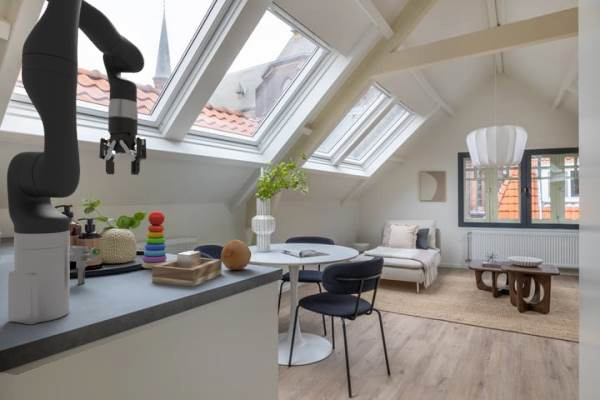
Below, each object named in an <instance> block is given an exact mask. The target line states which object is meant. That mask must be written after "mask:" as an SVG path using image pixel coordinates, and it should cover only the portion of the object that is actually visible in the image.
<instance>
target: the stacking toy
mask: <svg viewBox="0 0 600 400" xmlns="http://www.w3.org/2000/svg"><path fill="white" fill-rule="evenodd" d="M165 218H166V217H165V215H164V213H163V212H162V211H159V210H155V211H151V212H150V213H149V215H148V218H147V219H148V222H149V224H151V225H149V226H148V227H147V230H148V232H147V233H146V236H147V238H146V239H145V242H146V243H145V244H144V248H145V250H144V251H143V256H142V262H141V267H142V268H144V269H152V266H155V265H158V264H162V263H165V262H168V261H167V255H166V254H167V250H166V247H167V246H166V243H165V242H166V238H165V237H164V236H165V232H164V230H165V227H164V225H162V224H164V222H165Z"/></svg>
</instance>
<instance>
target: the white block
mask: <svg viewBox="0 0 600 400" xmlns="http://www.w3.org/2000/svg"><path fill="white" fill-rule="evenodd" d="M201 253H202V252H201V251H198V250H197V251H196V250H187V251H183V252H180V253H177V255H176V257H177V258H176V259H177V268H186V269H189V268H192V267H195V266H198V265H201V258H202V256H201V255H202V254H201Z"/></svg>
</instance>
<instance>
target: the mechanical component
mask: <svg viewBox="0 0 600 400" xmlns="http://www.w3.org/2000/svg"><path fill="white" fill-rule="evenodd" d="M100 253H101V249H100V248H98V247H91V248H90V249H89V247H88V246H86V245H85V246H84V245H70V262H75V263H76V266H75V268H76V269H77V285H82V284H85V283H86V282H85V280H86V279H85V277H86V275H85V274H86V273H85V272H86V270H85V269H86V267H88V265H87V263H91V262H95V261H98V260H99V257H100ZM89 257H90V258H89Z"/></svg>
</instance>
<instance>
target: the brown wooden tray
mask: <svg viewBox="0 0 600 400" xmlns="http://www.w3.org/2000/svg"><path fill="white" fill-rule="evenodd" d="M222 264H223V262H222V260H221V258H220V259H218V258H206V257H201V265H198V266H195V267H192V268H189V269H186V268H177V258H176V259H173V260H169V261H167V262H165V263H162V264H158V265H155V266H152V271H151V274H152V275H151V283H156V284H164V285H165V284H166V285H173V286H175V285H176V286H185V287H195V286H197V285H200V284H202V283H205V282H207V281H209V280H211V279H213V278H216V277H218V276H220V275H222V270H223V269H222V268H223V267H222V266H223V265H222Z"/></svg>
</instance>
